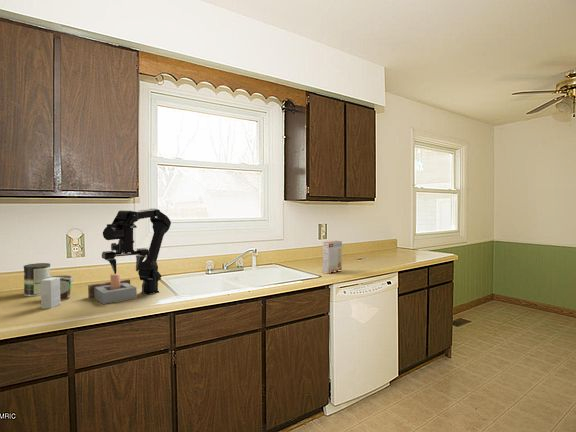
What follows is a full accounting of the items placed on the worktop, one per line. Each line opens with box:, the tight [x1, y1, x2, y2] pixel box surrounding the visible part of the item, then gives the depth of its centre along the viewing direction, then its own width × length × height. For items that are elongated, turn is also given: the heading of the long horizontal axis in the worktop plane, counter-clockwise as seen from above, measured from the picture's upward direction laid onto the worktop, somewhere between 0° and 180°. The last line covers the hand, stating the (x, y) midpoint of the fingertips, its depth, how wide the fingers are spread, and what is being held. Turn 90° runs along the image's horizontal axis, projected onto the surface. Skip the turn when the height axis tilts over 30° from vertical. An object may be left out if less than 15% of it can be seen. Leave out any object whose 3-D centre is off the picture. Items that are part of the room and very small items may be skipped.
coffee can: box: [23, 262, 51, 297], centre depth 157 cm, size 10×10×14 cm
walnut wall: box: [87, 279, 131, 299], centre depth 156 cm, size 18×2×6 cm, turn 135°
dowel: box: [110, 273, 121, 290], centre depth 151 cm, size 4×4×11 cm
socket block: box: [93, 283, 137, 305], centre depth 151 cm, size 14×14×5 cm
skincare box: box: [40, 277, 61, 310], centre depth 137 cm, size 6×4×12 cm
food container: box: [44, 274, 74, 301], centre depth 150 cm, size 12×6×10 cm, turn 92°
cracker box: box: [322, 240, 343, 274], centre depth 219 cm, size 14×6×21 cm, turn 133°
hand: (126, 272), depth 146 cm, fingers open, 9 cm apart
